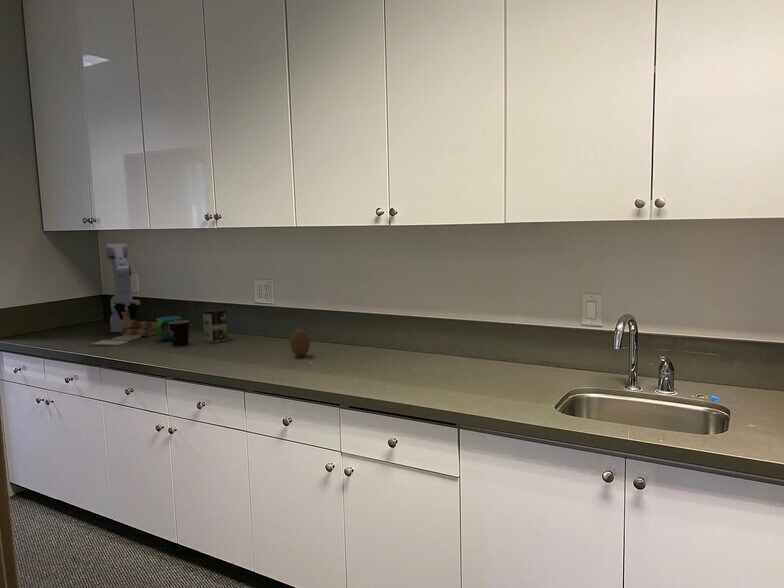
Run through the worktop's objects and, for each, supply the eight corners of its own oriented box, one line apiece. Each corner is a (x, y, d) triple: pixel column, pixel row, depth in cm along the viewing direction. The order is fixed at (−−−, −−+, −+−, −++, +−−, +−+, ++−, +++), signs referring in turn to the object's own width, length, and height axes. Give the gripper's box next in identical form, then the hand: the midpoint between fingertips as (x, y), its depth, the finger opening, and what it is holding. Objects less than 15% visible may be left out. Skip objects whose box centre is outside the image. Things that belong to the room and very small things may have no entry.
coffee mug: (170, 343, 276) (169, 321, 275) (190, 341, 279) (189, 319, 277) (169, 348, 265) (167, 325, 264) (190, 346, 268) (188, 324, 266)
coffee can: (230, 337, 285) (228, 307, 283) (223, 342, 275) (221, 311, 273) (208, 338, 285) (206, 308, 283) (201, 342, 275) (198, 311, 273)
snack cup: (173, 335, 294) (171, 314, 293) (190, 336, 290) (189, 315, 288) (148, 342, 280) (146, 320, 278) (166, 343, 276) (164, 321, 274)
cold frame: (121, 335, 297) (120, 325, 297) (137, 331, 308) (136, 321, 307) (147, 337, 292) (146, 326, 291) (163, 332, 302) (162, 322, 302)
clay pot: (121, 325, 289) (118, 312, 287) (129, 322, 294) (126, 309, 292) (130, 325, 287) (127, 312, 285) (138, 321, 292) (136, 309, 291)
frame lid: (88, 345, 276) (88, 343, 276) (102, 341, 285) (102, 339, 285) (115, 346, 272) (115, 344, 272) (128, 342, 281) (128, 340, 281)
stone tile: (111, 340, 286) (111, 338, 286) (125, 336, 294) (125, 334, 294) (126, 341, 283) (126, 339, 283) (140, 337, 291) (140, 335, 291)
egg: (314, 354, 245) (312, 328, 243) (303, 359, 238) (301, 331, 236) (298, 353, 248) (296, 326, 247) (287, 357, 241) (285, 330, 240)
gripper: (106, 291, 286) (109, 320, 288) (131, 292, 281) (133, 321, 283) (117, 290, 293) (120, 318, 294) (142, 290, 288) (144, 318, 290)
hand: (127, 319), depth 289 cm, fingers closed on clay pot, 5 cm apart
